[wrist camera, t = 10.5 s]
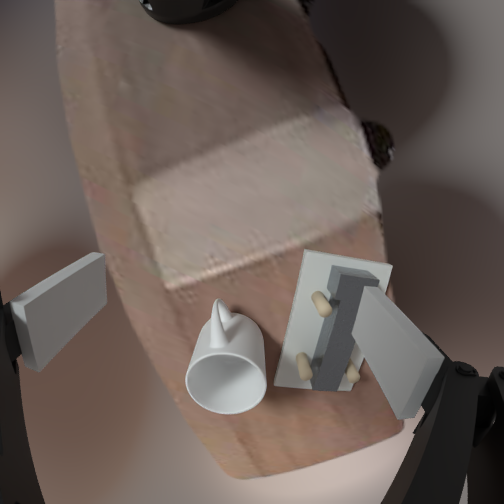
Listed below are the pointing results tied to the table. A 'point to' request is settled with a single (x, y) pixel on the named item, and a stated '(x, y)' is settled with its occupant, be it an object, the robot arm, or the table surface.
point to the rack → (318, 318)
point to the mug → (228, 363)
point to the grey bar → (339, 326)
